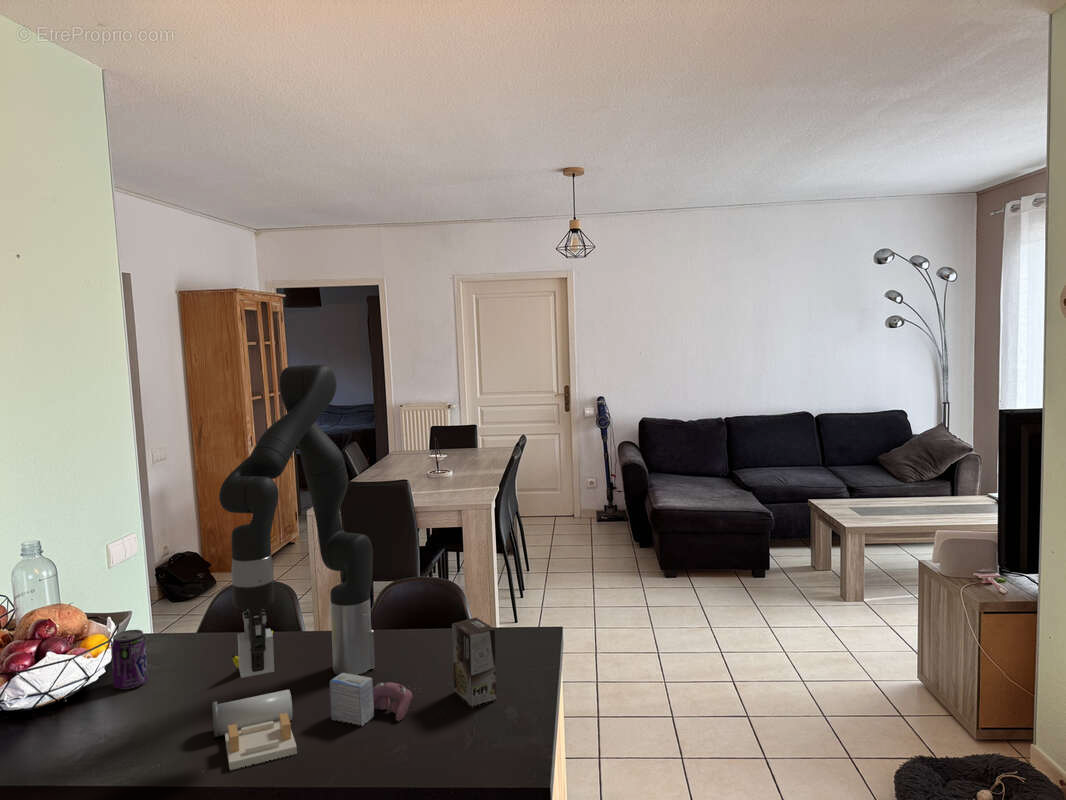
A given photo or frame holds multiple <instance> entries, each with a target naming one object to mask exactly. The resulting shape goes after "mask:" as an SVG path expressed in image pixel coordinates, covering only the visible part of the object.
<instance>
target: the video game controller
mask: <svg viewBox="0 0 1066 800" xmlns="http://www.w3.org/2000/svg"><path fill="white" fill-rule="evenodd" d="M390 698H391V699H394V701H392V703H391V700H390ZM412 701H413V693H412V691H411V690H410V689H407V688H406V687H405V685H402V684H400V683H396V682H391V681H390V682H380V683H376V686H373V704H374V707H376V705H377V704H378V708H379V709H380V710H384V711H386V710H385V709H387V710H389V708H390V711H391V712H392V713H394V714H395V720H396V721H397V722H401V721H402V720H403V719H404V718H405V716H406V714H407V712H408V710H409V707H410V704H411V703H412ZM400 720H401V721H400Z"/></svg>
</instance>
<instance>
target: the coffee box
mask: <svg viewBox="0 0 1066 800" xmlns="http://www.w3.org/2000/svg"><path fill="white" fill-rule="evenodd" d="M451 629H452V631H451V633H452V635H451V636H452V660H453V661H452V662H453V663H452V664H453V685H454V686H453V690H454V691H455V692H456V693H458V694H459V695H460V696H461V697H462V698H463V699H465V700H466V701H467V702H468V703H469V704H470V705H471V706H473V705H477V704H481V703H484V702H487V701H491V700H493V699H496V700H497V674H496V670H497V668H496V666H497V665H496V662H497V661H496V628H494V627H492V626H490V624H488V623H487V622H485V621H483V620H481V619H480V618H477V617H471V618H467V619H464V620H461V621H457V622H453V623H451ZM455 692H454V693H455ZM456 693H455V694H456ZM463 699H462V700H463ZM469 704H468V705H469ZM470 705H469V706H470ZM471 706H470V707H471Z"/></svg>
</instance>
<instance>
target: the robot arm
mask: <svg viewBox="0 0 1066 800" xmlns="http://www.w3.org/2000/svg"><path fill="white" fill-rule="evenodd" d="M336 391H337V378H336V376H335V373H334V371H333V369H331V367H329V366H328V365H324V364H308V365H305V364H303V365H293V366H287V367H285V368H284V369H283V370H282V371H281V373H280V376H279V392H280V395H281V399H282V403H283V406H284V408H285V411H286V414H284V415H283V416H282V417H280V418H279V419H278V420H277V421H275V422H274V423H272V424H271V425H270V426H269V427H268V428H267V429H266V430H265V431H264V432H263V434H262V435H261V437H260V438H259V440H258V441H257V443H256V445H255V446H254V448H253V450H252V451H251V453H250V455H249V456H248V457H247V458H246V459H244V460H243V461H242V462H241V463H240V464H239V465H238V466H237V467H236V468H234V470H233V471H232V472H231V473H230V474H229V475H228V476H226V478H225V480H224V481H223V482H222V485H221V487H220V489H219V496H218V498H219V499H218V500H219V504H220V506H221V507H222V509H224V510H225V511H227V512H228V513H233V514H234V513H235V514H252V517H251V520H250V523H246V524H241V525H238V526H236V527H234V529H233V530H232V532H231V538H230V539H231V557H232V558H231V561H232V562H231V572H230V573H231V590H232V591H231V592H232V594H231V595H232V605H233V606H234V607H235V608H236V609H240V610H244V612H242V620H243V623H244V633H246V635H247V640H248V641H250V652H251V664H252V671H253V672H257V671H262V670H264V651H265V649H266V646H265V637H266V629H267V625H266V624H267V613H265V612H266V610H265V608H264V607H265V606H269V605H271V604H272V603H273V602H274V601H275V582H274V581H275V579H274V564H273V558H272V545H271V544H272V542H271V539H272V538H271V534H272V529H273V523H274V519H275V514H276V510H277V506H278V501H279V495H280V493H279V489H278V485H277V483H276V482H275V481H274V479H277V478H278V477H280V476H281V475H282V473H283V472H284V470H285V469H286V467H287V465H288V463H289V461H290V459H291V458H292V455H293V453H294V452H295V450H296V448H298V450H299V455H300V459H301V463H302V468H303V469H302V470H303V474H304V477H305V481H306V485H307V488H308V491H309V492H308V493H309V496H310V499H311V502H312V508H313V513H314V519H315V523H316V528H317V536H318V545H319V552H320V557H321V560H322V563H323V564H324V566H325V567H326V568H327V569H329V570H331V571H336V572H340V573H341V572H343V573H346V575H345V577H346V579H345V582H342V583H339V584H336V585H335V586H333V587H332V588H331V589H330V615H331V616H330V617H331V620H330V621H331V644H332V645H331V646H332V650H331V651H332V671H334V672H333V674H335V675H337V674H338V675H339V674H341V673H347V674H353V675H358V674H361V675H363V674H362V673H364V674H366V673H368V672H369V671H368V670H370V669H373V670H375V669H374V668H375V666H376V665H375V664H376V663H375V643H374V642H375V639H374V635H375V633H374V630H373V629H372V628H373V627H372V619H371V618H372V617H371V615H372V614H371V589H372V585H373V567H374V565H373V564H374V563H373V561H374V559H373V557H374V554H373V553H374V550H373V545H372V541H371V539H370V538H369V536H368V535H366V534H364V533H363V534H362V533H355V532H354V533H353V532H345V530H344V529H343V525H342V521H341V515H340V510H341V507H342V503H343V500H344V498H345V495H346V493H347V490H348V486H349V475H348V470H347V466H346V462H345V459H344V455H343V453H342V451H341V449H339V447H338V446H337V445H336V444H335V442H334V441H333V440H332V439H331V438H330V437H329V436H328V435H327V434H326V433H325V432H324V430H323V429H322V428H321V427H320V425H319V424H318V422H317V420H318V419H319V417H321V415H322V414H323V413H324V412H325V410H326V409H327V408H328V407H329V405H330V404H331V402H332V401H333V399H334V398H335V395H336ZM263 608H264V609H263ZM250 634H251V635H250ZM259 642H261V645H259V646H254V644H255V643H259ZM367 671H368V672H367ZM370 671H371V670H370ZM365 672H366V673H365ZM338 675H337V676H338Z"/></svg>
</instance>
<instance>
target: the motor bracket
mask: <svg viewBox="0 0 1066 800" xmlns="http://www.w3.org/2000/svg"><path fill="white" fill-rule="evenodd" d="M291 720H293V701H292V695H291V691H290V689H285V690H280V691H275V692H269V693H265V694H260V695H256V696H251V697H250V696H249V697H245V698H241V699H236V700H232V701H228V702H226V701H225V702H222V703H218V701H213V702H212V721H213V732H214V734H213V735H214V738H215V737H216V738H217V737H221V736H224V741H225V749H226V755H227V763H228V768H229V769H230V770H229V771H233V770H237V769H242V768H245V766H246V767H251V766H253V765H252V764H254V765H257V764H258V765H259V764H262V763H266V761H267V762H270V761H269V760H271V761H273V760H274V759H275V760H278V758H279V759H282V757H283V758H286V756H287V757H291V756H295V755H297V754H298V748H297V743H296V740H295V737H294V735H293V731H292V728H291V727H292V724H291V722H290V721H291ZM294 754H295V755H294ZM290 755H291V756H290ZM275 760H274V761H275ZM241 767H242V768H241Z"/></svg>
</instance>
